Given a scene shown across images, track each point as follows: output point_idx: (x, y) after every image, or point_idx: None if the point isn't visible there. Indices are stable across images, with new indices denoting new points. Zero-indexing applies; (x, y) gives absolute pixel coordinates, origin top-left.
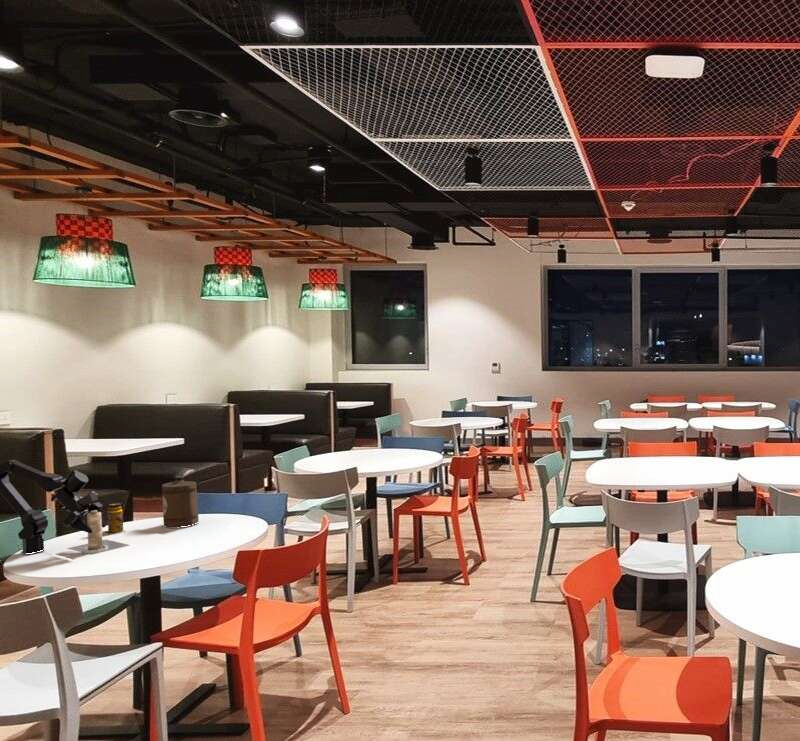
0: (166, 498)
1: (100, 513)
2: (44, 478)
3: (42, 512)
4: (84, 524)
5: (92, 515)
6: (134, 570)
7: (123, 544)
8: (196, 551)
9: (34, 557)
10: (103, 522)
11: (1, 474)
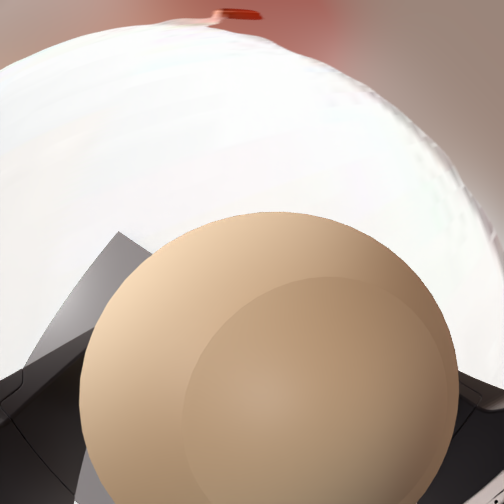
0: None
1: (278, 212)
2: None
3: None
4: (463, 381)
5: (440, 333)
6: (412, 130)
7: (97, 276)
8: (225, 54)
9: None
10: (82, 346)
11: None
